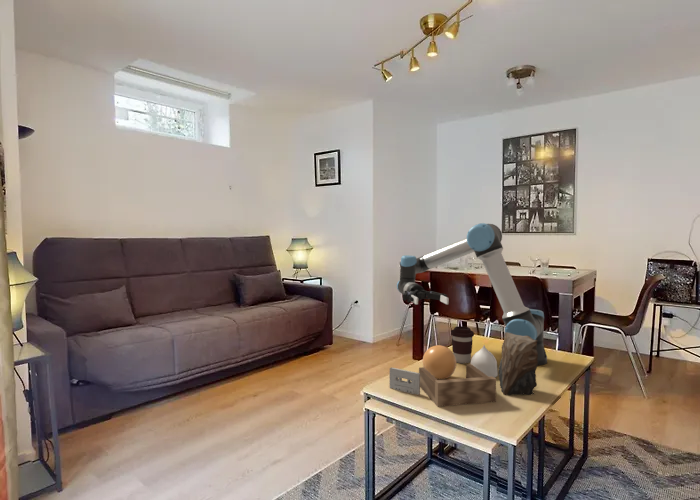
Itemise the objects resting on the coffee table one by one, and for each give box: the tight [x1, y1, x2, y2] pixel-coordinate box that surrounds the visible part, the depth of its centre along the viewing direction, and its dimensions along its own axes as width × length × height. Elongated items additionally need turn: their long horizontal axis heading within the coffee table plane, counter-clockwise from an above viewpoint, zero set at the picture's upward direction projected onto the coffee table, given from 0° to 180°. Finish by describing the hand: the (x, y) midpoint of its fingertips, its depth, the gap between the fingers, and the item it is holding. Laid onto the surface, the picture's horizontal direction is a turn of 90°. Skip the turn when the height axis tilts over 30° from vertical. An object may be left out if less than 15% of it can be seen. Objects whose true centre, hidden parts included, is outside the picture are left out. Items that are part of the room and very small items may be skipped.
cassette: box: [389, 367, 421, 395], centre depth 152 cm, size 12×2×8 cm, turn 57°
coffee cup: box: [450, 325, 475, 364], centre depth 185 cm, size 10×10×15 cm
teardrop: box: [470, 344, 499, 378], centre depth 170 cm, size 11×11×12 cm
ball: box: [422, 344, 457, 380], centre depth 164 cm, size 13×13×13 cm
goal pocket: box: [418, 363, 497, 408], centre depth 150 cm, size 21×18×8 cm
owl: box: [497, 332, 539, 396], centre depth 153 cm, size 13×13×20 cm
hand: (432, 301), depth 174 cm, fingers open, 13 cm apart
